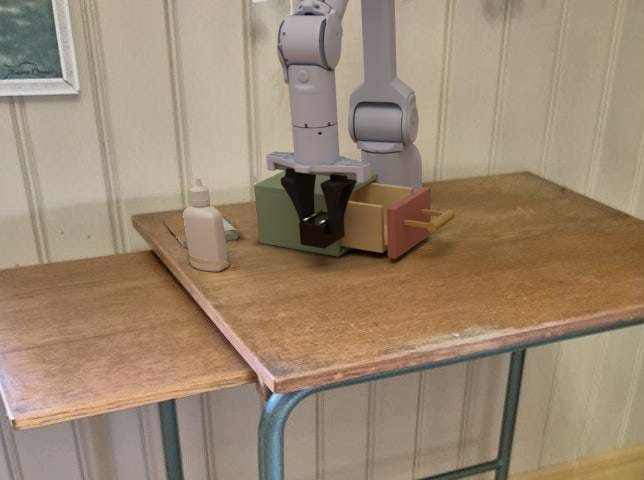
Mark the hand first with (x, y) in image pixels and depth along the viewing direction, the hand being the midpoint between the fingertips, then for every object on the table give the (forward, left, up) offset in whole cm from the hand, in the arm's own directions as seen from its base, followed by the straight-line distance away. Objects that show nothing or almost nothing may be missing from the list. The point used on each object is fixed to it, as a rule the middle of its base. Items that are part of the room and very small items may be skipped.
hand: (322, 230), depth 120 cm
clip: (0, 0, -1) cm, 1 cm away
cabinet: (-8, -9, -5) cm, 13 cm away
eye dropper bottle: (+10, -12, -5) cm, 17 cm away
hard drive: (+2, -25, -5) cm, 26 cm away
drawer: (-11, +2, -4) cm, 12 cm away
